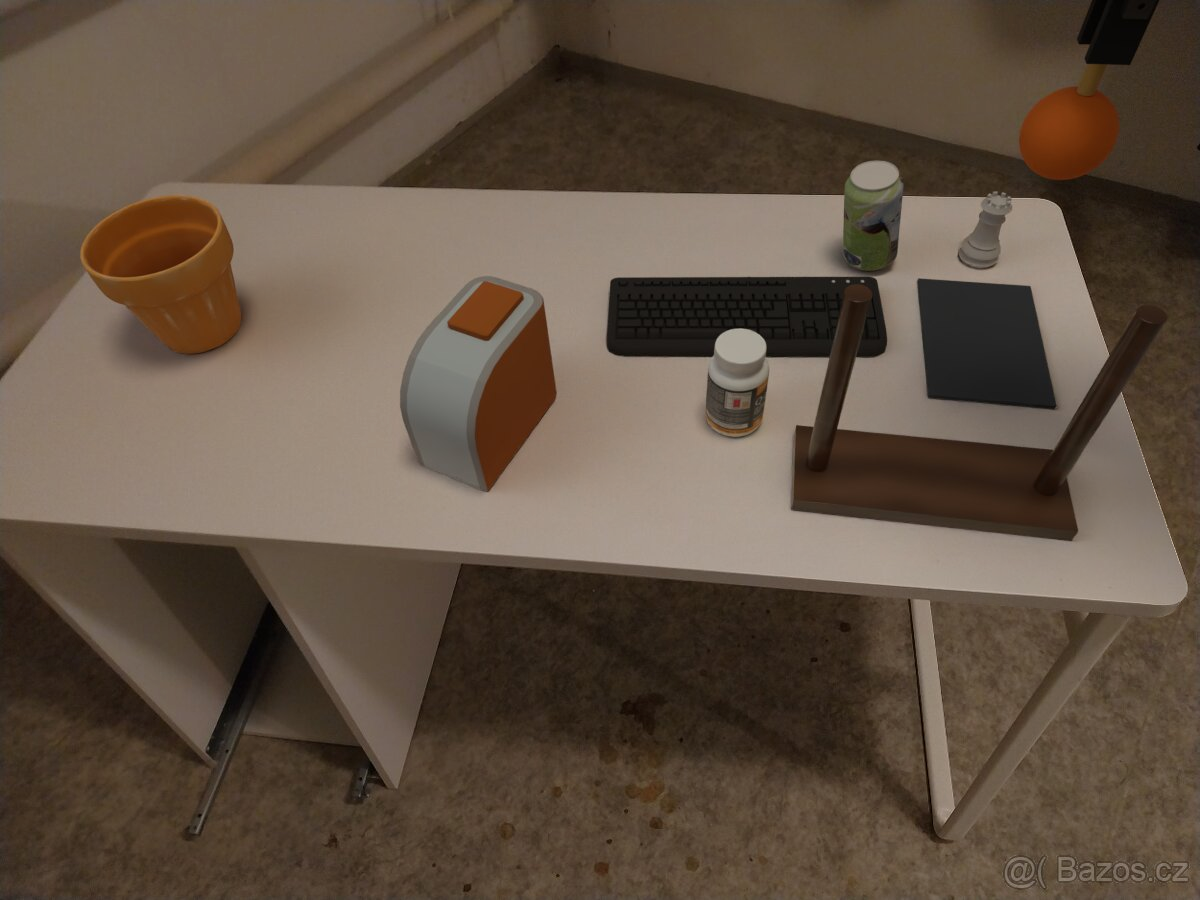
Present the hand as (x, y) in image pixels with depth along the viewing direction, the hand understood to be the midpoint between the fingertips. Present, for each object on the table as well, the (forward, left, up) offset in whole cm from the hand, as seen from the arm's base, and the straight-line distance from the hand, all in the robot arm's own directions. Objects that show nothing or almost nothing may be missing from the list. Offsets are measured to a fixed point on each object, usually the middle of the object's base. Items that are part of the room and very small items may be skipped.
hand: (1103, 51), depth 56 cm
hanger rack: (-11, +4, -35) cm, 37 cm away
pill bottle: (-5, +22, -35) cm, 42 cm away
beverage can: (+21, +9, -35) cm, 42 cm away
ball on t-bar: (0, 0, -9) cm, 9 cm away
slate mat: (+9, -3, -35) cm, 36 cm away
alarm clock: (-9, +46, -35) cm, 58 cm away
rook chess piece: (+23, -4, -35) cm, 42 cm away
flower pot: (+1, +83, -35) cm, 90 cm away
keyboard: (+9, +22, -35) cm, 42 cm away
